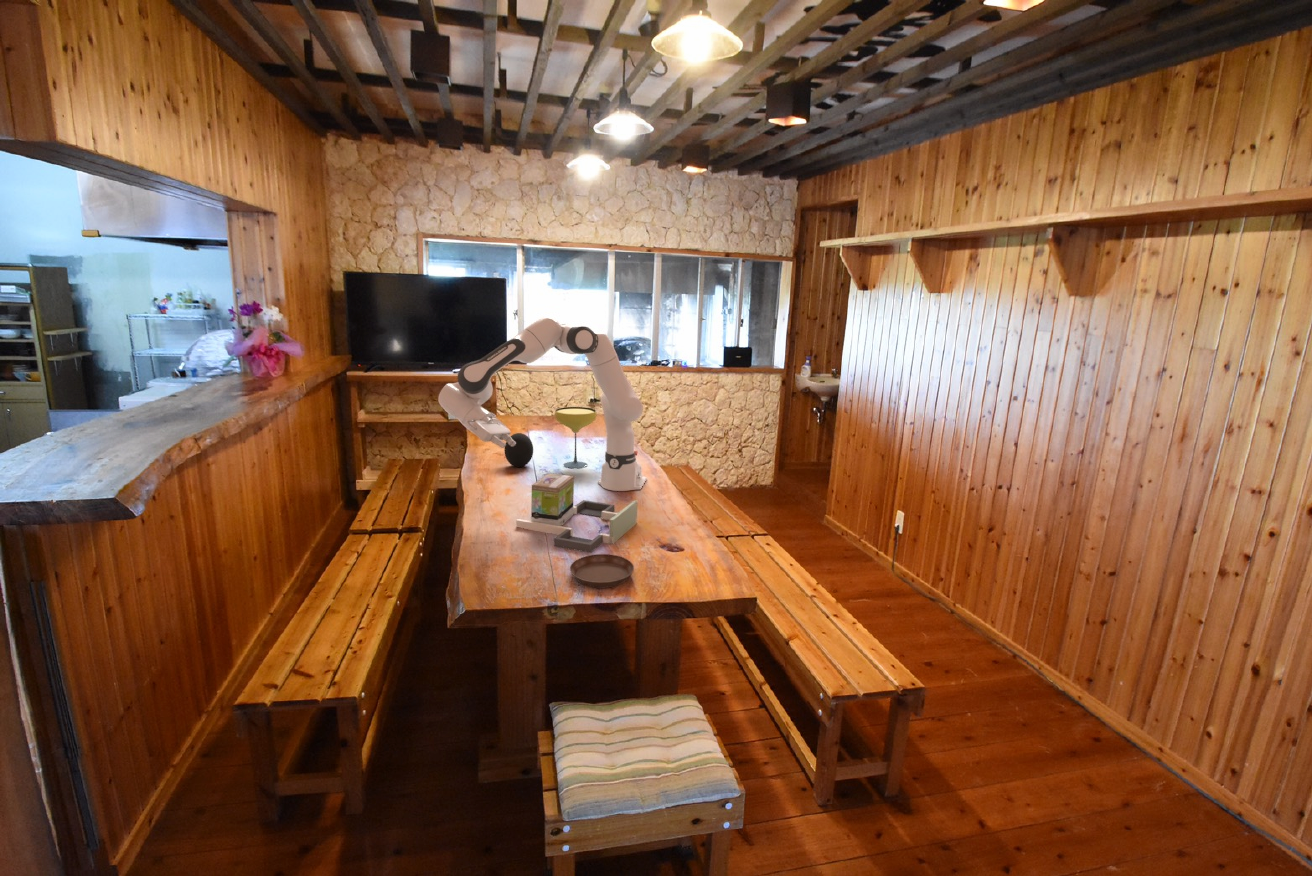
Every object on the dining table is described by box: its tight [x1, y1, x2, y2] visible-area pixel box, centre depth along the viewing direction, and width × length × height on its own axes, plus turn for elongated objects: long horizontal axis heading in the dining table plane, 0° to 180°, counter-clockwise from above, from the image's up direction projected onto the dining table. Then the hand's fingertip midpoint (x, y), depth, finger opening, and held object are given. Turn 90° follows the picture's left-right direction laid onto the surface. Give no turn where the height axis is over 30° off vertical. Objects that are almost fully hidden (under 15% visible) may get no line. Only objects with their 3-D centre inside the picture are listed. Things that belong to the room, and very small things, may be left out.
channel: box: [515, 500, 638, 545], centre depth 213 cm, size 20×35×8 cm, turn 70°
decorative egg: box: [504, 432, 534, 468], centre depth 279 cm, size 12×12×15 cm
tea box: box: [530, 473, 575, 527], centre depth 215 cm, size 15×10×15 cm
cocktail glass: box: [554, 406, 597, 469], centre depth 283 cm, size 18×18×25 cm
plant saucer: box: [569, 553, 635, 589], centre depth 176 cm, size 18×18×3 cm
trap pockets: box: [553, 499, 616, 553], centre depth 212 cm, size 36×20×2 cm, turn 160°
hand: (509, 445), depth 215 cm, fingers open, 8 cm apart
